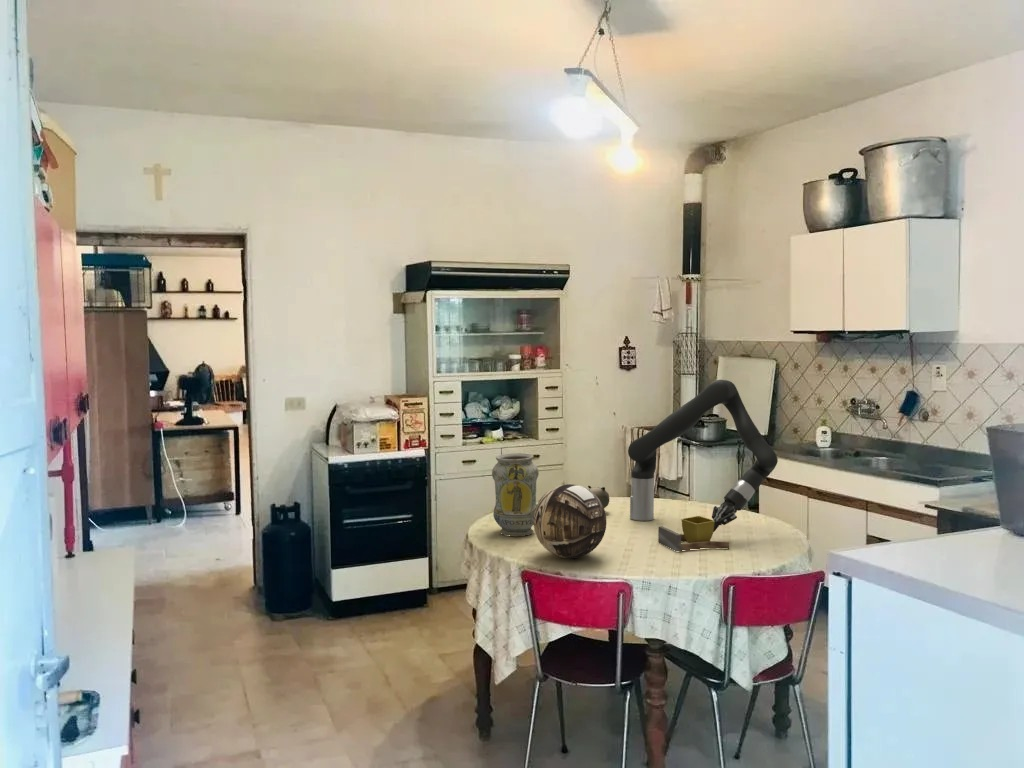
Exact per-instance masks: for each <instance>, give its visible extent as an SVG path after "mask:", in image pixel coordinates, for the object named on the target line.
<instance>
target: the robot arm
mask: <svg viewBox="0 0 1024 768" xmlns="http://www.w3.org/2000/svg"><path fill="white" fill-rule="evenodd" d="M720 404H721V405H723V406H724V408H726V409H727V410H728V412H729V414H730V415H731V418H732V420H733V422H734V425H735V429H736V431H737V434H738V436H739V437H740V439H741V441H742V442H743V444H744V445H745V447H746V449H748V451H750V452H752V454H753V455H754V456H755V458H756V460H755V461H754V463H753V464H752V465H751V466H750V468H749V469H747V470H746V471H745V472H744V474H743V475H742V476H741V477H740V478H739V479H738V480H737V481H736V482H735V483H734V484H733V485H732V486H731V488H730V489H729V490H728V491H727V492H726V494H725V495H724V497H723V499H724V502H722V503H721V504H720V505H719V506H717V505H715V506H713V510H712V514H711V519H712V520H714V521H715V523H714V530H713V533H714V532H715V531H716V530H717V529H718V528H719V526H722V525H723V526H726V525H727V524H729V523H730V522H733V521H735V520H736V519H737V518H738V515H737V514H736V513H737V512H740V511H741V510H743V508H744V507H745V506H746V504H747V503H748V502H749V501H750V500H751V499H752V497H753V496H754V494H755V493H756V491H757V490H758V489H759V488H760V486H761V485H762V483H763V481H765V479H767V478H768V476H770V474H771V473H772V472H773V471H774V469H775V468H776V466H777V464H778V461H779V460H778V459H779V458H778V456H777V454H776V452H775V451H774V449H773V448H772V447H771V446H770V444H769V443H768V442H767V441H766V440H765V439H764V437H763V435H762V434H761V431H760V430H759V429H758V428H757V425H755V422H754V421H753V420H752V418H751V416H750V414H749V412H748V410H747V409H746V407H745V404H744V403H743V400H742V398H741V396H740V393H739V390H738V389H737V386H736V385H735V383H733V382H732V381H731V380H727V379H715V380H713V381H711V382H710V383H709V384H708V385H707V386H706V387H704V388H703V389H702V390H701V391H700V392H699V394H697V395H696V396H694V397H693V398H692V399H690V400H688V401H687V402H686V403H685V404H683V405H682V406H680V407H679V408H677V409H676V410H674V411H673V412H672V413H670V414H669V415H668V416H667V417H666V418H664V419H663V420H662V421H660V422H659V423H658V424H657V425H656V426H655V427H653V428H652V429H651V430H650V431H648V432H647V433H644V434H643V435H642V436H640V437H639V438H636V439H634V440H633V441H632V442H631V443H630V444H629V445H628V448H627V454H628V457H629V459H631V460H632V461H634V462H635V463H634V467H633V468H632V469H631V471H630V472H631V474H630V475H631V476H630V477H631V478H630V479H631V480H630V481H631V482H630V483H631V484H630V486H631V489H630V491H631V493H630V494H631V495H630V496H629V497H630V499H629V501H630V502H629V519H630V520H635V521H640V522H642V521H643V522H646V521H652V520H654V518H655V517H654V515H655V513H654V512H655V511H654V510H655V508H654V507H655V505H654V504H655V503H654V501H655V472H656V469H657V449H659V448H660V447H661V446H663V445H665V444H667V443H669V442H672V441H673V440H675V439H677V438H679V437H680V436H681V437H682V436H683V435H684V434H686V433H687V432H688V431H690V430H691V429H692V428H693V427H694V426H695V425H696V424H697V423H698V422H699V421H700V420H701V418H702V416H704V415H705V413H707V412H708V411H710V410H712V409H713V408H714V407H716V406H718V405H720Z"/></svg>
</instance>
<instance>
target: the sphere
mask: <svg viewBox="0 0 1024 768" xmlns="http://www.w3.org/2000/svg"><path fill="white" fill-rule="evenodd" d="M536 504H537V506H536V509H535V512H534V519H533V523H534V525H533V529H534V530H533V531H534V534H535V535H536V537H537V539H538V541H539V543H540V545H542V547H543V548H544V549H545V550H547V551H548V552H549V553H551V554H552V555H554V556H557V557H558V558H559V557H560V558H564V559H577V558H581V557H585V556H586V555H588V554H590V553H591V552H592V551H594V550H595V549H596V548H597V547H598V546H599V545H600V543H601V542H602V541H603V538H604V537H605V533H606V530H607V515H606V510H605V508H604V507H603V505H602V503H601V501H600V500H599V499H598V497H597V496H596V495H595V494H594V493H592V492H591V491H590V490H589V488H586V487H584V486H582V485H579V484H567V483H566V484H561V485H557V486H556V487H553V488H551V489H550V490H548V491H547V492H545V494H543V495H542V497H541V498H540V499H539V500H538V502H537V503H536Z"/></svg>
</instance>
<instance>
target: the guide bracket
mask: <svg viewBox="0 0 1024 768" xmlns="http://www.w3.org/2000/svg"><path fill="white" fill-rule="evenodd" d="M657 527H658V528H657V529H658V531H657V533H658V535H657V537H658V541H657V543H658V542H659V544H660V543H661V544H660V545H662V544H663V545H662V546H664V545H665V546H664V547H666V546H667V547H666V548H668V547H669V548H668V549H670V548H671V549H670V550H672V549H673V550H672V551H674V550H675V551H674V552H676V551H682V550H690V549H700V548H728V549H727V550H730V541H723V540H722V541H721V540H717V541H716V540H710V541H704V542H693V543H688V542H687V540H686V538H685V536H684V534H683V533H678V532H675V531H673V530H671V529H670V528H667V527H665V526H663V525H659V526H657ZM681 541H683V543H682V542H681ZM685 542H686V543H685ZM682 552H683V551H682Z"/></svg>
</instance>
